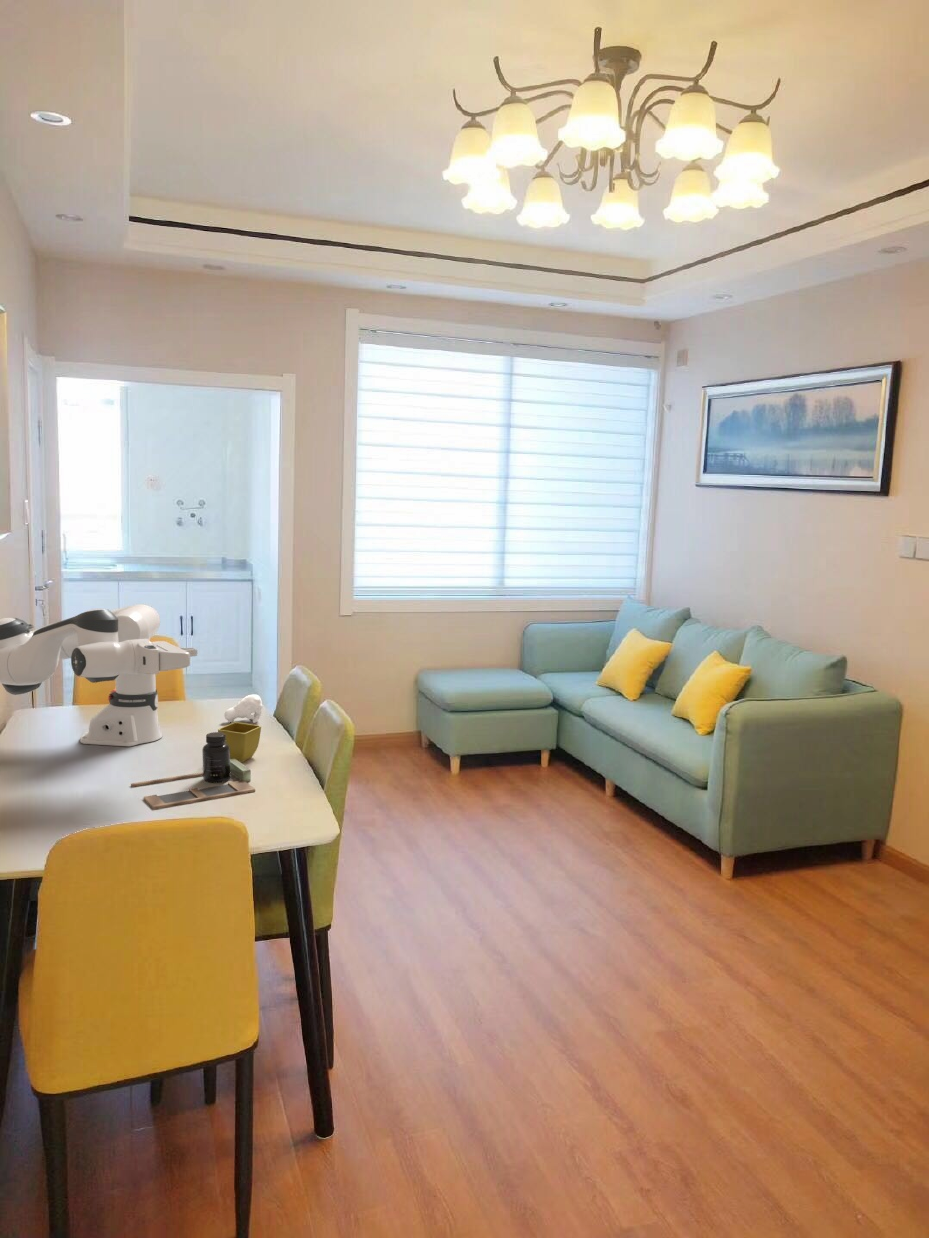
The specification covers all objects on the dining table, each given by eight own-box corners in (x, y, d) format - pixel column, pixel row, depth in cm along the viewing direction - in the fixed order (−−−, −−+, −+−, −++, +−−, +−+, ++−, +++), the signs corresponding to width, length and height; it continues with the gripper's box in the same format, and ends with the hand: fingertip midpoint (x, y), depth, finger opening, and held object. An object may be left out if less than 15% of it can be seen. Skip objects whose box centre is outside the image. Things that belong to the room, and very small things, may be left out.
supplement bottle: (205, 775, 239) (205, 730, 237) (232, 775, 240) (231, 730, 238) (200, 783, 233) (199, 737, 231) (227, 783, 233) (227, 738, 231)
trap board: (153, 809, 214) (153, 797, 213) (131, 785, 229) (130, 774, 229) (262, 790, 229) (262, 778, 229) (234, 769, 245) (234, 758, 244)
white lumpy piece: (262, 695, 290) (224, 702, 285) (265, 721, 291) (227, 728, 287) (258, 691, 296) (221, 697, 291) (261, 716, 297) (223, 723, 293)
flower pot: (262, 756, 256) (262, 725, 255) (245, 765, 248) (244, 733, 247) (235, 752, 259) (234, 721, 258) (217, 761, 251) (216, 729, 250)
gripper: (130, 661, 241) (182, 656, 249) (154, 675, 224) (209, 670, 232) (129, 637, 240) (181, 633, 248) (153, 650, 223) (209, 646, 232)
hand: (195, 651), depth 240 cm, fingers closed
